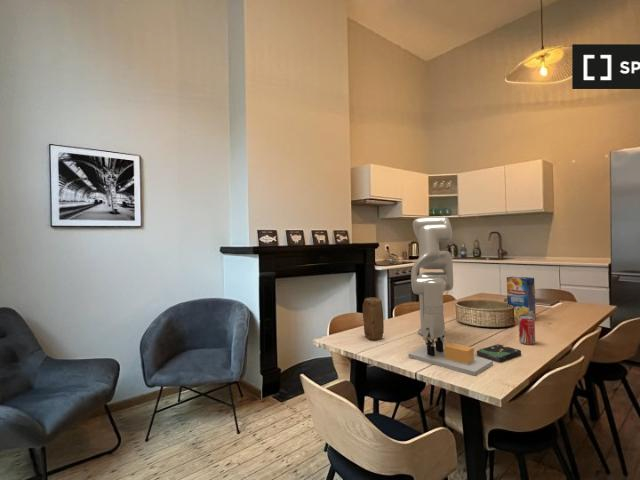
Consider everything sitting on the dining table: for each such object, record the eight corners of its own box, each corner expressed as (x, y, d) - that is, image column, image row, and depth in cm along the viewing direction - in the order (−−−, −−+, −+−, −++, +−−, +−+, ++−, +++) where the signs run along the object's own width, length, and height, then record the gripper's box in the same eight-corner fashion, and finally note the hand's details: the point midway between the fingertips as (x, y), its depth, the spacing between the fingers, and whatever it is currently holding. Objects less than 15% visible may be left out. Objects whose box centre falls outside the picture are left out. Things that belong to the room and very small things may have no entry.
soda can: (530, 346, 151) (529, 319, 151) (516, 342, 156) (515, 316, 156) (538, 343, 154) (537, 317, 154) (524, 340, 159) (523, 314, 159)
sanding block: (452, 355, 139) (451, 343, 139) (474, 360, 132) (473, 347, 132) (445, 358, 135) (444, 346, 135) (467, 364, 128) (466, 351, 128)
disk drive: (497, 350, 149) (476, 356, 142) (497, 343, 149) (476, 350, 142) (521, 356, 140) (500, 364, 133) (521, 350, 140) (500, 357, 133)
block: (385, 339, 169) (383, 299, 169) (372, 341, 166) (370, 300, 166) (374, 334, 179) (373, 295, 179) (361, 335, 176) (360, 297, 176)
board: (428, 348, 153) (428, 345, 153) (492, 364, 131) (492, 360, 131) (408, 357, 143) (408, 353, 143) (474, 376, 122) (474, 371, 122)
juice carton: (535, 319, 195) (534, 277, 195) (528, 321, 192) (527, 279, 192) (514, 315, 206) (513, 276, 206) (507, 317, 202) (506, 277, 202)
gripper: (436, 305, 150) (438, 346, 150) (414, 312, 139) (415, 356, 139) (452, 307, 144) (454, 350, 144) (430, 314, 133) (432, 360, 133)
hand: (435, 352), depth 142 cm, fingers open, 5 cm apart
